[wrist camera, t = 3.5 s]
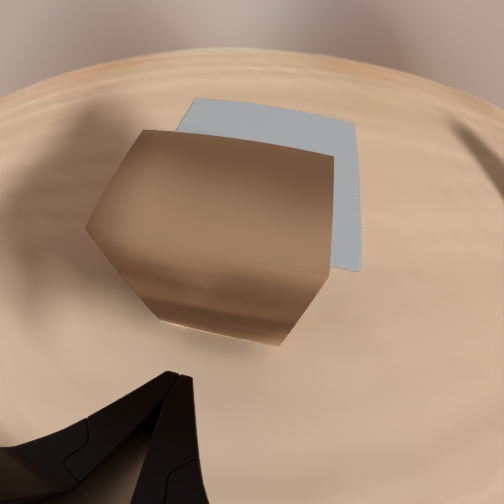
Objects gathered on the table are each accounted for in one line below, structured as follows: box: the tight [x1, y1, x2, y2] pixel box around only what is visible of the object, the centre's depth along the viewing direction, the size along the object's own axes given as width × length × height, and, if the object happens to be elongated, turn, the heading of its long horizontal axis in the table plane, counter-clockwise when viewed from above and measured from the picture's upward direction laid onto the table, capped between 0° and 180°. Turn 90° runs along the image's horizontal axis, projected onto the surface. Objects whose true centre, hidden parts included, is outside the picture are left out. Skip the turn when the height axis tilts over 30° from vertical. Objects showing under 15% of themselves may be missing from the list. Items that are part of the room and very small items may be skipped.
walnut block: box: [85, 130, 334, 347], centre depth 13 cm, size 4×7×10 cm, turn 79°
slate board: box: [176, 98, 361, 272], centre depth 23 cm, size 16×16×1 cm
